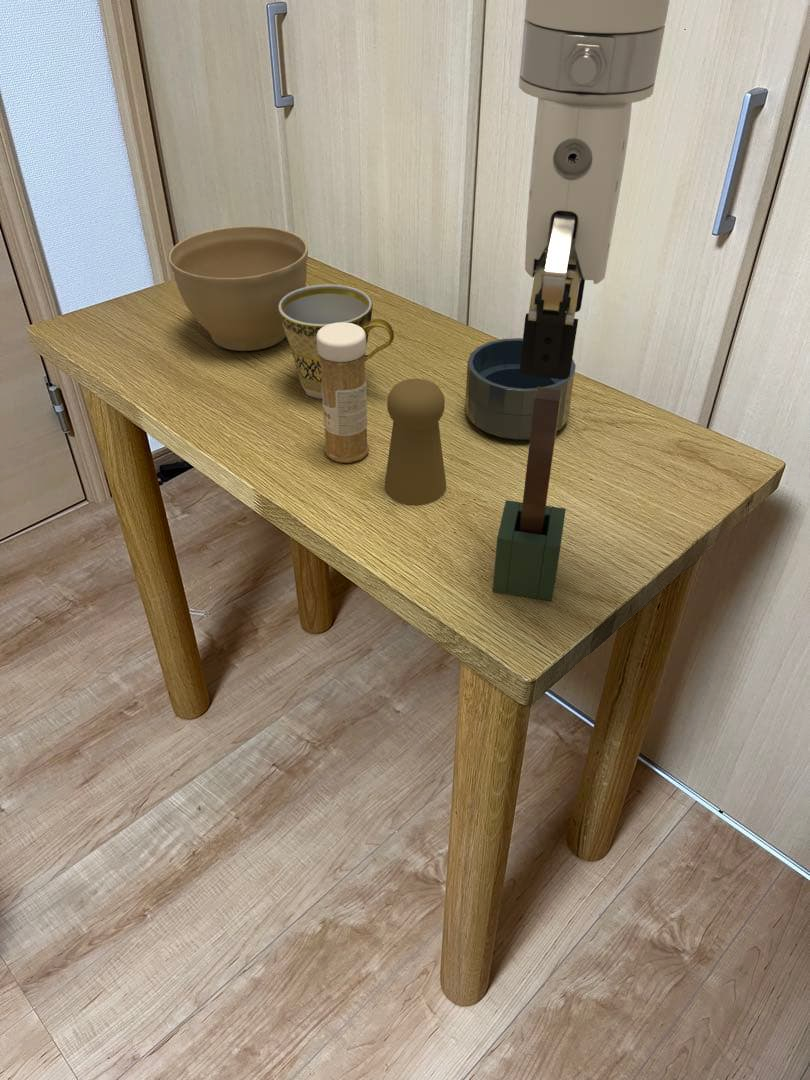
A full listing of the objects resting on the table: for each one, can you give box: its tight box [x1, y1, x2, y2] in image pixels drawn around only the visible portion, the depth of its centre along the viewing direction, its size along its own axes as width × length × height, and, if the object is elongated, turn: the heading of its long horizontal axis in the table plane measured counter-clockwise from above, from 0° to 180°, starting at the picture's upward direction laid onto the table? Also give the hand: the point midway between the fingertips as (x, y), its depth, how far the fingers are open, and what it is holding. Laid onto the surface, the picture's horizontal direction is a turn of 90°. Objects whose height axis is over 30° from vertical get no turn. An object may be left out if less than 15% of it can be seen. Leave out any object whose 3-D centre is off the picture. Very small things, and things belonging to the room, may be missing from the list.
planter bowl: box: [168, 225, 309, 352], centre depth 103 cm, size 16×16×11 cm
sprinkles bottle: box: [317, 322, 370, 464], centre depth 82 cm, size 5×5×14 cm
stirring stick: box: [519, 387, 562, 535], centre depth 67 cm, size 2×2×18 cm
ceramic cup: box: [279, 283, 395, 400], centre depth 93 cm, size 13×10×10 cm
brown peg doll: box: [383, 378, 447, 506], centre depth 79 cm, size 6×6×11 cm
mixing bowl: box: [464, 337, 577, 441], centre depth 90 cm, size 11×11×6 cm
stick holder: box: [491, 499, 566, 602], centre depth 71 cm, size 5×5×6 cm
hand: (551, 339), depth 58 cm, fingers open, 9 cm apart
